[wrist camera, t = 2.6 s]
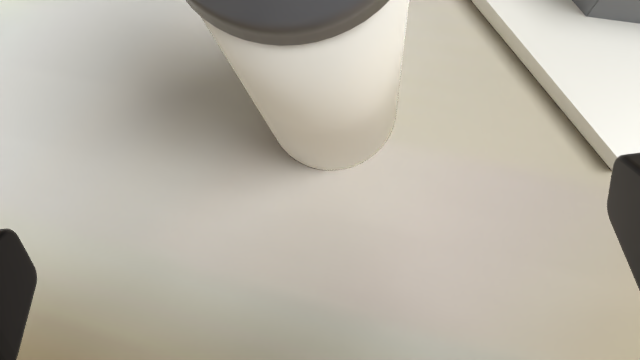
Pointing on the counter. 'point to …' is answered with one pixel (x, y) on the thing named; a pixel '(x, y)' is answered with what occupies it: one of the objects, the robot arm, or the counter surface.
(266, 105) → the canister
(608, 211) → the robot arm
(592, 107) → the collar
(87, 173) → the counter surface
